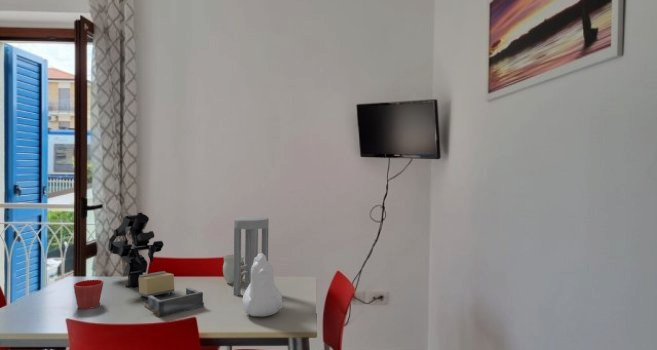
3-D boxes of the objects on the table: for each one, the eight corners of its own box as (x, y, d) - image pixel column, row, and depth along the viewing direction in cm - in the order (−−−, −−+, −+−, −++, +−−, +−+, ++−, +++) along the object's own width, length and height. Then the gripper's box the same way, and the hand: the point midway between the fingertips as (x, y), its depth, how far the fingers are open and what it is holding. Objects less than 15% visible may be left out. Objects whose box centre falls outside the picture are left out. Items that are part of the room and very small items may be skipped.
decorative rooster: (280, 322, 158) (281, 256, 158) (238, 322, 158) (239, 256, 157) (284, 301, 183) (284, 244, 183) (248, 301, 182) (248, 244, 182)
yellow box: (138, 297, 185) (138, 274, 185) (165, 291, 194) (165, 270, 194) (147, 302, 178) (147, 279, 178) (174, 296, 187) (174, 274, 187)
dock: (131, 302, 182) (131, 286, 182) (173, 293, 196) (173, 278, 195) (158, 319, 162) (158, 301, 162) (203, 308, 175) (203, 292, 175)
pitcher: (250, 277, 222) (250, 251, 222) (239, 287, 204) (239, 259, 204) (230, 276, 223) (230, 251, 223) (217, 286, 205) (217, 258, 205)
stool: (227, 295, 190) (227, 219, 189) (246, 287, 204) (246, 215, 204) (256, 300, 184) (257, 221, 183) (273, 290, 198) (274, 217, 198)
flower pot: (109, 303, 177) (109, 280, 177) (86, 311, 167) (87, 287, 167) (90, 300, 181) (90, 278, 181) (67, 308, 170) (67, 284, 170)
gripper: (121, 227, 191) (130, 255, 183) (162, 224, 204) (172, 250, 196) (115, 242, 196) (124, 270, 189) (155, 238, 209) (164, 263, 202)
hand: (147, 263), depth 194 cm, fingers open, 5 cm apart
